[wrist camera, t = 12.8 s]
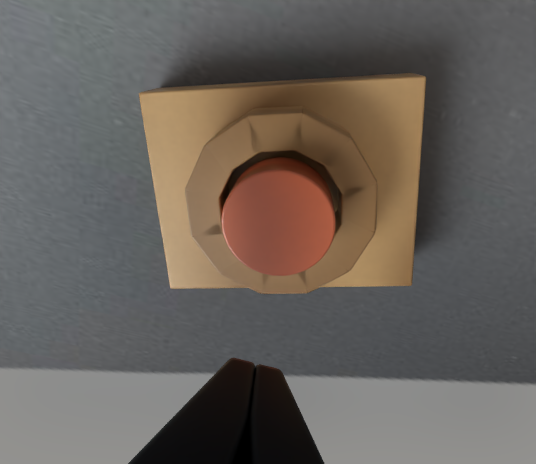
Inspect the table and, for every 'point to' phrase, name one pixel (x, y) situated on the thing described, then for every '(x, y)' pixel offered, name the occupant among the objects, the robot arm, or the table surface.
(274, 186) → the button
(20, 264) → the table surface
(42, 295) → the table surface
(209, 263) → the button block
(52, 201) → the table surface
